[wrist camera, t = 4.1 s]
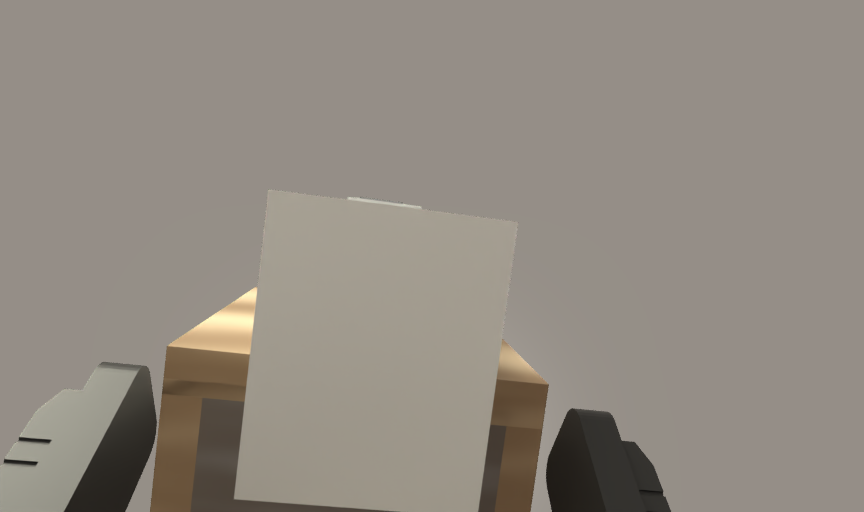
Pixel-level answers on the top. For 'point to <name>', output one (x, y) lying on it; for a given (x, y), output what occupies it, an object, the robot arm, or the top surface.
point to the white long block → (373, 355)
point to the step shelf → (223, 414)
